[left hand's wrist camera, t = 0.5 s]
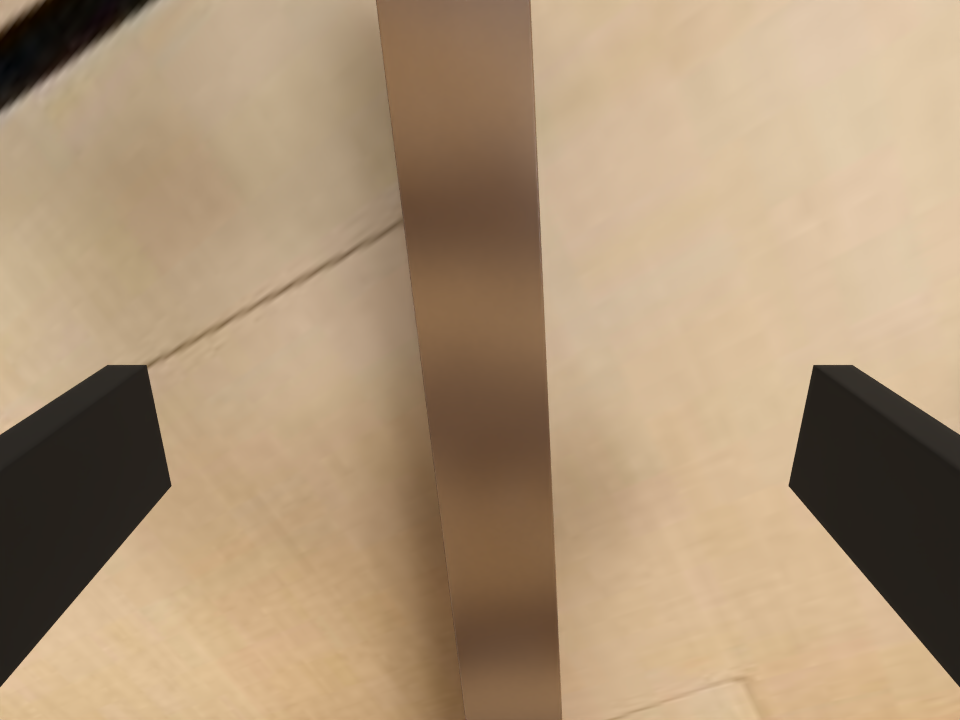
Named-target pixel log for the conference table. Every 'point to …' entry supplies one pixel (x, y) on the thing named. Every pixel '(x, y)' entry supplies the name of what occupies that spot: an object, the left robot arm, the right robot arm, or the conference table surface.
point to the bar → (481, 332)
